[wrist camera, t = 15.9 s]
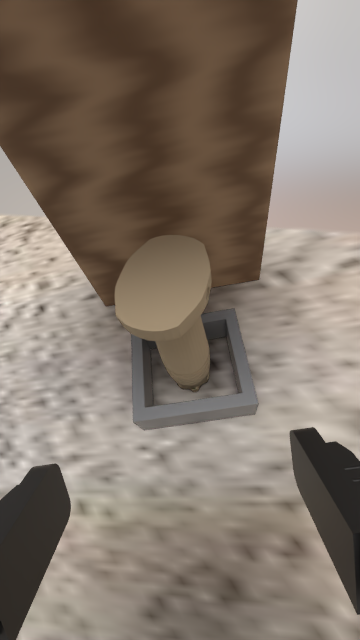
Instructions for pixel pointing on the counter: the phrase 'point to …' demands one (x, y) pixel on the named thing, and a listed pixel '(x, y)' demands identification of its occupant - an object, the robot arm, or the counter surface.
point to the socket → (199, 409)
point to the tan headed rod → (169, 304)
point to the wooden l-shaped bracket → (147, 123)
